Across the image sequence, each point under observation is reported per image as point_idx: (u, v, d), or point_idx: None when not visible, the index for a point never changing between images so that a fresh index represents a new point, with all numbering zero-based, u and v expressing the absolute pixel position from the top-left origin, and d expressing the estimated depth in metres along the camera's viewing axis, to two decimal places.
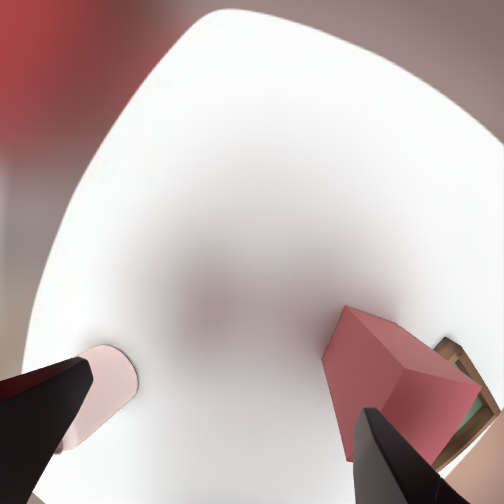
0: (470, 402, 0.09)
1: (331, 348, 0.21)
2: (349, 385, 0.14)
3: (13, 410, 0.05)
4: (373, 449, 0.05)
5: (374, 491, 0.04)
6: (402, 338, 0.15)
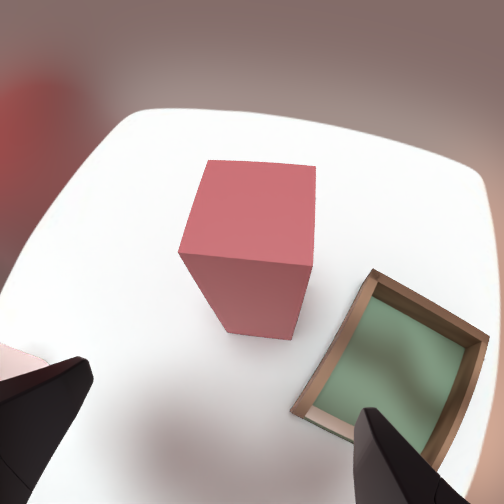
0: (309, 178, 0.12)
1: None
2: None
3: (13, 410, 0.05)
4: (373, 449, 0.05)
5: (374, 491, 0.04)
6: None
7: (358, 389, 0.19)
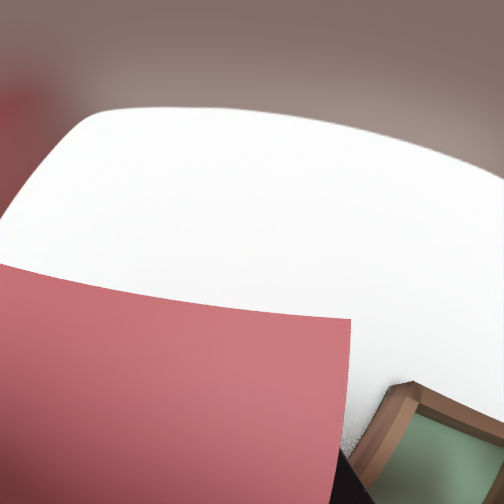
0: (310, 417, 0.02)
1: None
2: None
3: None
4: None
5: None
6: None
7: None
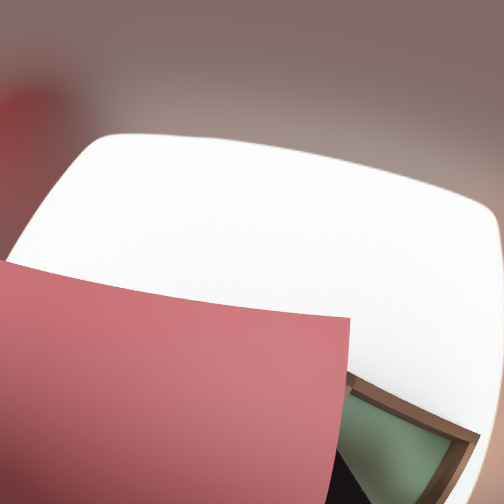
0: (308, 413, 0.02)
1: None
2: None
3: None
4: None
5: None
6: None
7: None
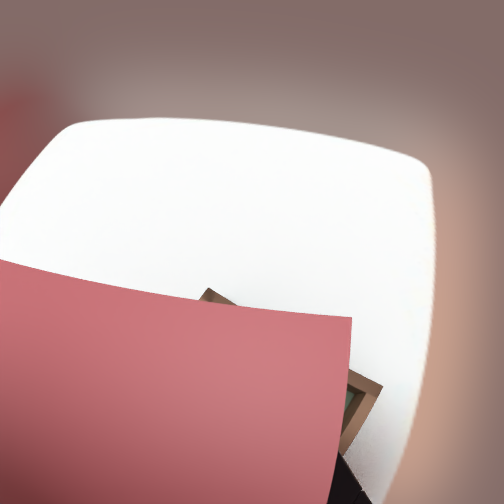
0: (310, 412, 0.02)
1: None
2: None
3: None
4: None
5: None
6: None
7: None
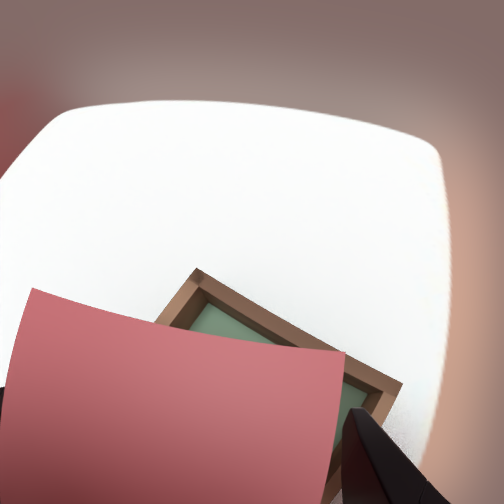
0: (314, 419, 0.03)
1: None
2: None
3: None
4: (359, 450, 0.05)
5: (359, 492, 0.04)
6: None
7: None
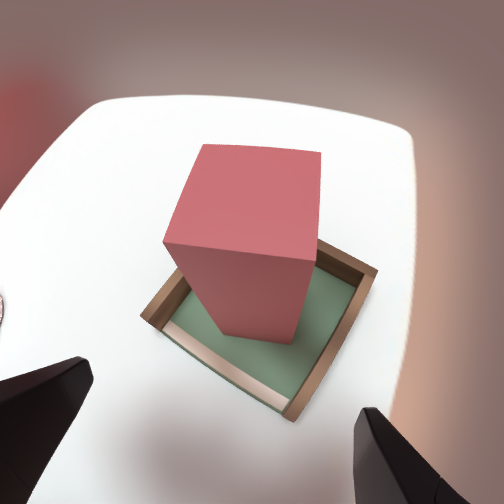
0: (314, 164, 0.11)
1: None
2: None
3: (13, 410, 0.05)
4: (373, 449, 0.05)
5: (374, 491, 0.04)
6: None
7: None
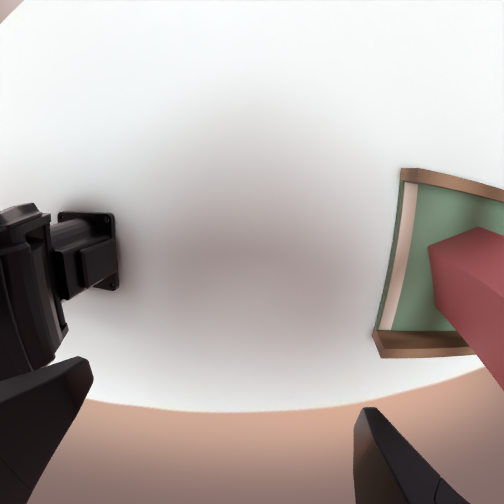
0: None
1: (454, 243, 0.16)
2: None
3: (13, 410, 0.05)
4: (373, 449, 0.05)
5: (374, 491, 0.04)
6: None
7: (443, 229, 0.17)
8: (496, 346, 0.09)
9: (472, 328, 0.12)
